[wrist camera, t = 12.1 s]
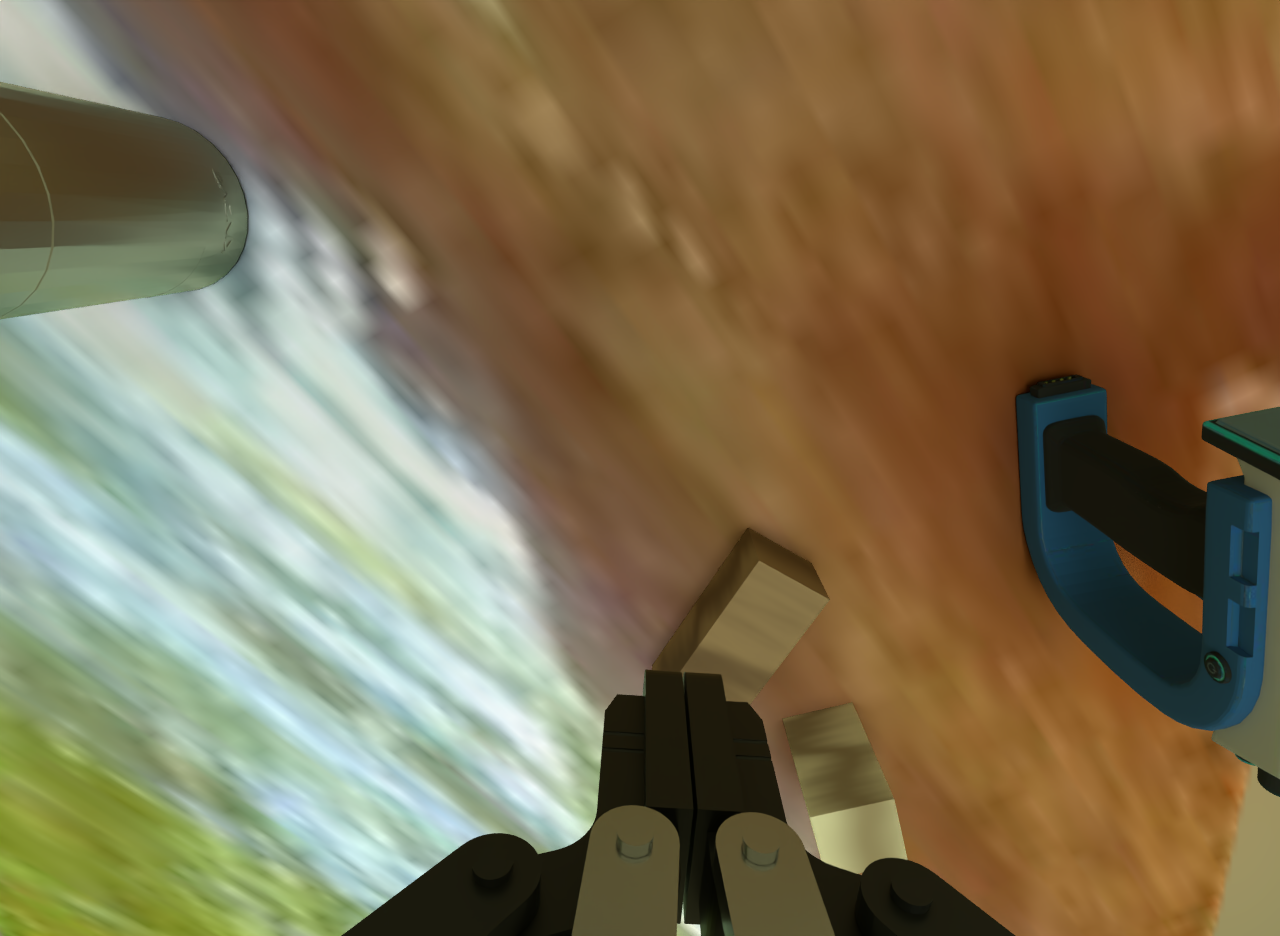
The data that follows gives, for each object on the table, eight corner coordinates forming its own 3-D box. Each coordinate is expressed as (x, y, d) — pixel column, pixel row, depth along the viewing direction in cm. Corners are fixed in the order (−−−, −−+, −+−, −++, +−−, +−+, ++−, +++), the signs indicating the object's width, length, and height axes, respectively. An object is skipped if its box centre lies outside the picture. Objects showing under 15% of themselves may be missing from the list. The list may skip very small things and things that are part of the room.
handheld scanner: (1091, 336, 43) (1424, 427, 24) (1095, 577, 48) (1374, 807, 29) (1011, 352, 43) (1278, 454, 24) (1023, 590, 48) (1253, 824, 29)
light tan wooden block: (720, 743, 46) (829, 599, 43) (653, 709, 45) (759, 560, 42) (713, 695, 51) (811, 562, 48) (652, 663, 50) (747, 526, 47)
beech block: (797, 773, 53) (826, 879, 44) (782, 718, 51) (809, 817, 43) (865, 758, 52) (908, 862, 44) (852, 702, 51) (894, 798, 42)
